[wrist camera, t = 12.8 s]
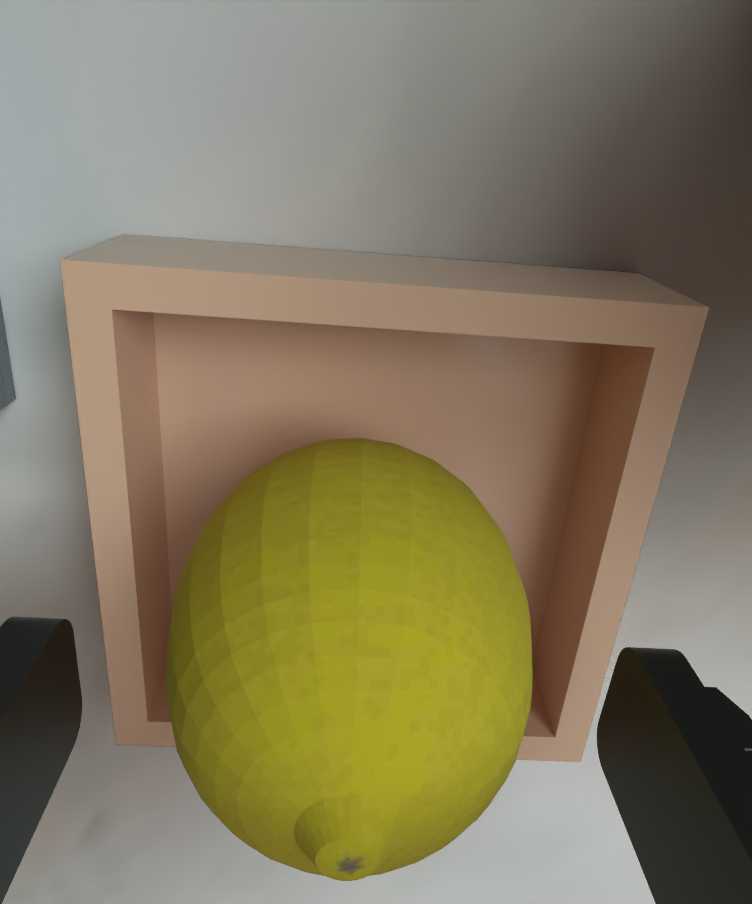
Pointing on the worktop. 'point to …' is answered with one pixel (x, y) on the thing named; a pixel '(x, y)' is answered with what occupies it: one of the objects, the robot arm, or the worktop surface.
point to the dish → (374, 425)
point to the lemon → (349, 659)
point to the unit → (5, 369)
